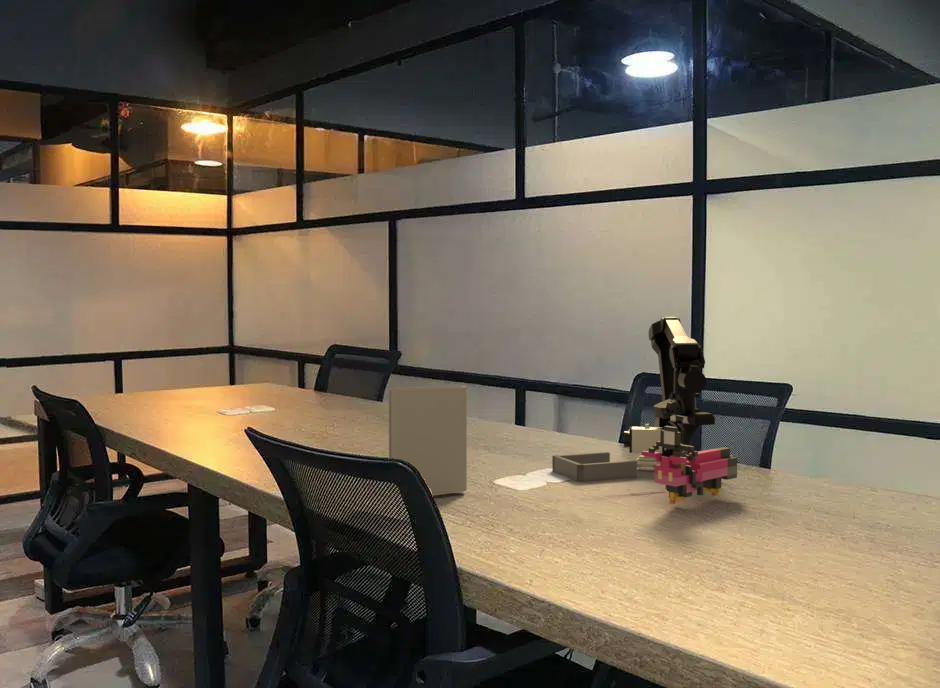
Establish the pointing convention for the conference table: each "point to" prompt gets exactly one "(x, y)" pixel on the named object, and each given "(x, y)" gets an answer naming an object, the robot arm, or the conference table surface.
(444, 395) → the book
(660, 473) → the figurine
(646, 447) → the pneumatic valve
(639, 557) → the conference table surface
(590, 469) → the housing bay
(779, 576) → the conference table surface
